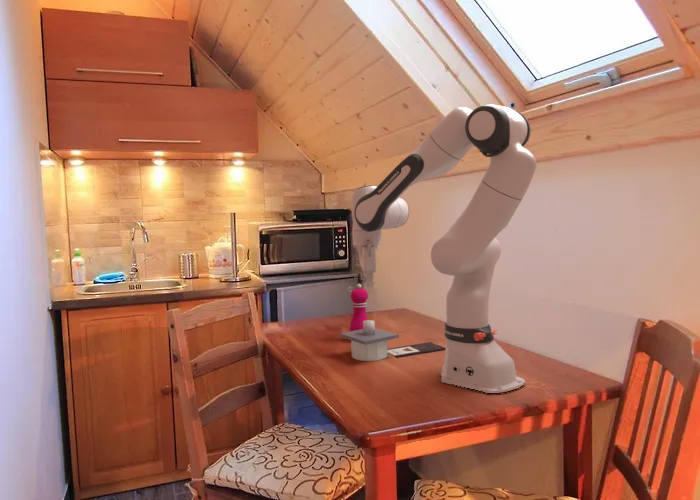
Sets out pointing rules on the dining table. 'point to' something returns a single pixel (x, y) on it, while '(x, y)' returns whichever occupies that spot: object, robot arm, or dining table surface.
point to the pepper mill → (358, 308)
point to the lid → (369, 334)
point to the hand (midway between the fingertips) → (368, 284)
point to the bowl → (369, 351)
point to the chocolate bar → (415, 349)
